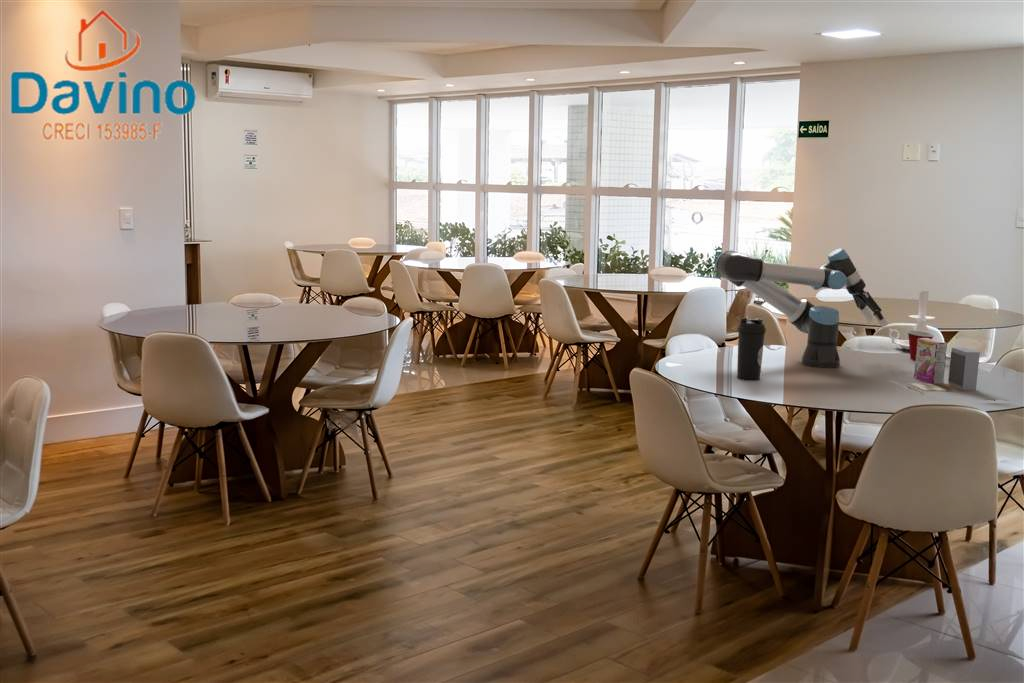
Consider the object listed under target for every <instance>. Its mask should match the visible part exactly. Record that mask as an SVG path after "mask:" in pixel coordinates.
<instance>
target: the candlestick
mask: <svg viewBox="0 0 1024 683" xmlns="http://www.w3.org/2000/svg"><path fill="white" fill-rule="evenodd" d="M928 300H929V290H924V289H922V291H921V290H920V291H919V295H918V314H913V315H912V314H911V315H910V314H909V315H908V317H909V318H912V319H914V320H916V324H915V326H914V328H913V331H921V332H926V333H928V326H927V325H926V322H927V321H929V320H934V319H936V317H935V316H931V315H930V316H929V315H927V306H928V305H927V304H928ZM888 330H889V333H888V336H889V338H890V339H891V342H892V344H894V345H898V346H900V347H901V348H903V349H905V350H908V351H910V349H909V339H907V340H906V339H904V340H903V339H902V340H897V339H898V338H899V337H900V332H899V331H898V330H897V329H892V328H888ZM892 332H896V337H893V336H892Z"/></svg>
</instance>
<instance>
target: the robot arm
mask: <svg viewBox="0 0 1024 683" xmlns="http://www.w3.org/2000/svg"><path fill="white" fill-rule="evenodd" d="M827 260H828V261H827V262H825V263H824V264H822V265H821V266H819V267H812V266H811V267H810V266H804V265H795V264H789V263H779V262H771V261H765V260H763V259H762V258H759V257H754V256H750V255H746V254H744V253H742V252H737V251H734V250H726V251H723V252H721V253H720V254H718V255H717V258H716V259H715V262H714V269H715V271H716V273H717V275H718V276H719V277H721V278H723V279H726V280H727V281H728V282H730V283H732V284H733V285H735V286H736V287H737V288H738V287H739V288H741V287H744V288H746V289H747V290H748V291H750V292H751V293H753V295H756V296H757V297H759V298H760V299H761V300H763V301H764V302H765V303H767V304H769V305H770V306H771V307H773V308H774V309H775V310H778V311H779V312H780V313H782V314H784V315H785V316H786V317H787V322H788V323H790V324H792V325H793V326H794V327H795V328H796V329H797V330H798V331H799V332H802V333H804V334H807V343H806V344H807V345H806V347H805V349H804V351H803V354H802V357H801V361H800V362H801V364H802V365H805V366H810V367H816V368H817V367H818V368H838V367H840V365H841V364H840V363H841V360H840V355H839V351H838V336H839V335H838V334H839V325H840V324H839V323H840V313H839V310H838V309H837V308H834V307H829V306H826V305H814V304H813V303H811V302H810V301H808V300H807V299H806V298H803V299H799V298H798V297H796V296H795V295H793V294H792V293H790V292H789V291H787V290H786V289H785V288H783V287H782V286H780V285H779V284H778V283H782V284H783V283H784V284H794V285H802V286H809V287H811V288H812V289H813V290H814V291H818V290H820V289H822V288H824V289H831V290H841V289H843V288H844V287H845V289H846V290H847V292H848V294H849V295H852V298H853V300H854V302H855V305H856V308H858V309H859V310H860V311H861V313H862V315H863V316H864V317H865V319H866V321H867V323H871V322H872V321H874V320H875V318H876V321H877V322H878V323H879V325H880V327H881V328H884V327H886V326H887V325H888V322H887V320H886V319H885V317H884V315H883V313H882V312H883V311H882V308H881V307H880V306H879V305H878V303H877V302H876V301H875V300H874V298H873V297H872V296H871V294H870V292H869V291H866V290H864V289H865V288H866V286H867V285H866V283H865V281H864V279H863V278H862V277H861V275H860V273H859V272H860V271H859V269H857V268H856V266H855V265H854V263H853V261H852V259H851V258H850V256H849V254H848V253H847V251H846V250H845V249H844V248H837V249H834V250H832V251H831V252H830V253H828V255H827ZM871 312H872V313H873V315H872V313H871ZM874 317H875V318H874Z"/></svg>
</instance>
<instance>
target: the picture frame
mask: <svg viewBox="0 0 1024 683" xmlns="http://www.w3.org/2000/svg"><path fill="white" fill-rule="evenodd" d="M907 385H909V386H911V387H909V386H907ZM907 385H906V387H907V388H910V389H911V390H914V391H916V392H918V393H920V394H922V395H923V394H925V393H924V392H980V391H979V390H977V389H976V390H960V389H958V388H955V387H953V386H950V385H948V383H915V382H913V383H907ZM912 387H913V388H912ZM915 388H916V389H915ZM919 390H920V391H919Z"/></svg>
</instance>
